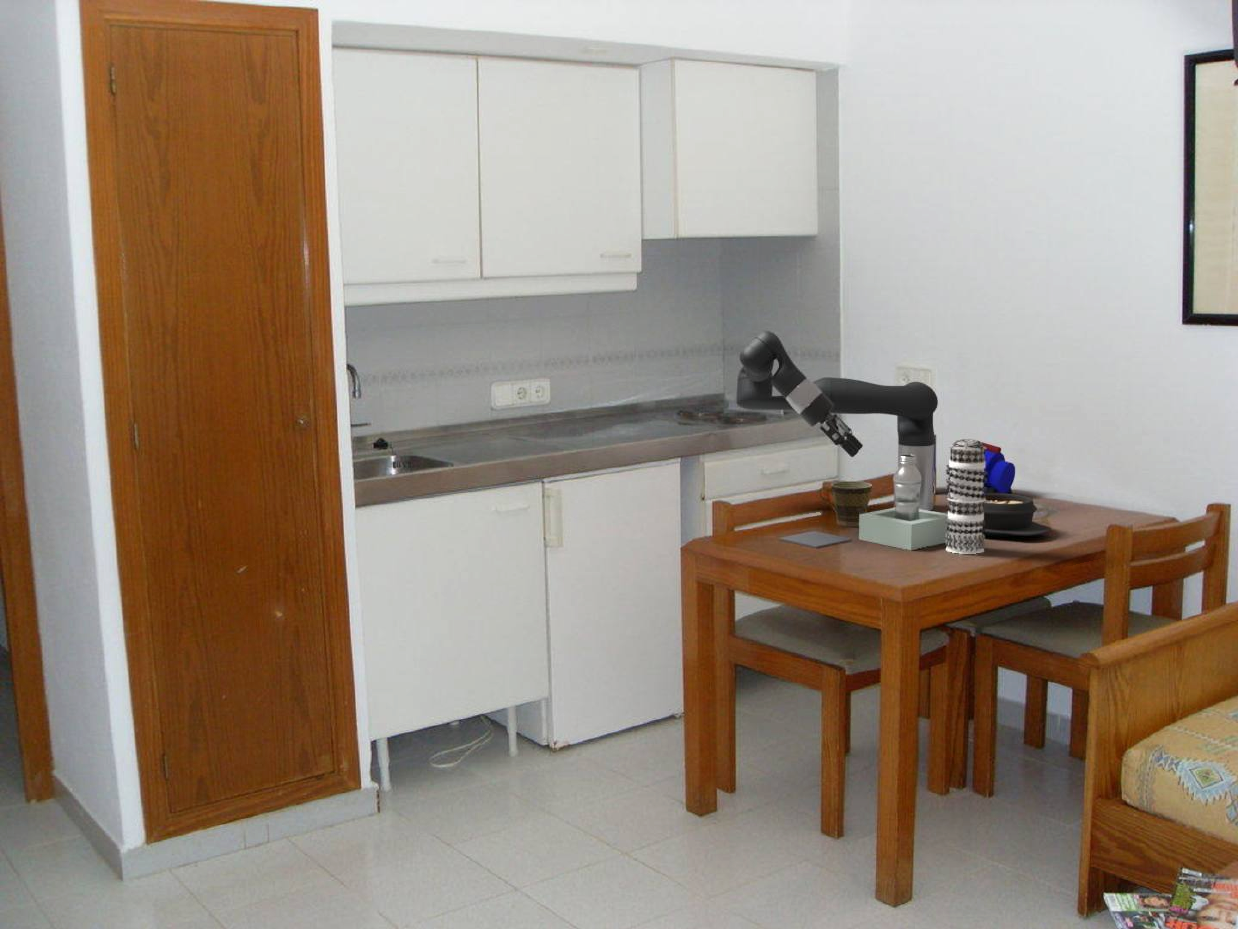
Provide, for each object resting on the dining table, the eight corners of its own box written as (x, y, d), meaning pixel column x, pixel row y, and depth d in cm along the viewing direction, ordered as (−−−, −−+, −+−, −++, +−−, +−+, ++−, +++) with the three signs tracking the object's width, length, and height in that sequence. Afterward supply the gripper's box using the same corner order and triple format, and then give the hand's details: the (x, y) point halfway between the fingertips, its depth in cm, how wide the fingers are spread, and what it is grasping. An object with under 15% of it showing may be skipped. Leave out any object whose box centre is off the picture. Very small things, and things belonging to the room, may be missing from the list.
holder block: (859, 539, 305) (859, 514, 304) (902, 530, 315) (902, 506, 314) (911, 550, 293) (911, 524, 292) (954, 540, 303) (955, 515, 302)
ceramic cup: (869, 520, 327) (870, 481, 326) (873, 528, 317) (873, 488, 316) (817, 520, 329) (817, 481, 327) (819, 528, 319) (819, 488, 317)
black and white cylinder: (935, 550, 293) (938, 440, 289) (959, 544, 299) (961, 436, 295) (970, 557, 286) (973, 444, 282) (993, 550, 292) (997, 440, 288)
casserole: (932, 530, 315) (932, 496, 313) (978, 519, 326) (979, 487, 325) (1021, 547, 296) (1023, 510, 294) (1067, 535, 307) (1068, 500, 306)
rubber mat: (778, 539, 306) (778, 538, 306) (814, 532, 314) (814, 531, 314) (816, 548, 297) (816, 546, 297) (851, 540, 304) (851, 539, 304)
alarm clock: (979, 490, 367) (980, 437, 364) (1019, 495, 358) (1021, 441, 356) (957, 496, 358) (958, 442, 356) (998, 501, 350) (1000, 446, 347)
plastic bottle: (926, 541, 302) (928, 456, 299) (902, 544, 300) (903, 458, 297) (910, 536, 308) (912, 452, 305) (886, 538, 306) (887, 454, 303)
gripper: (803, 409, 314) (850, 458, 312) (793, 416, 300) (842, 467, 299) (825, 388, 311) (873, 436, 310) (816, 394, 298) (866, 445, 296)
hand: (858, 451), depth 304 cm, fingers open, 8 cm apart
